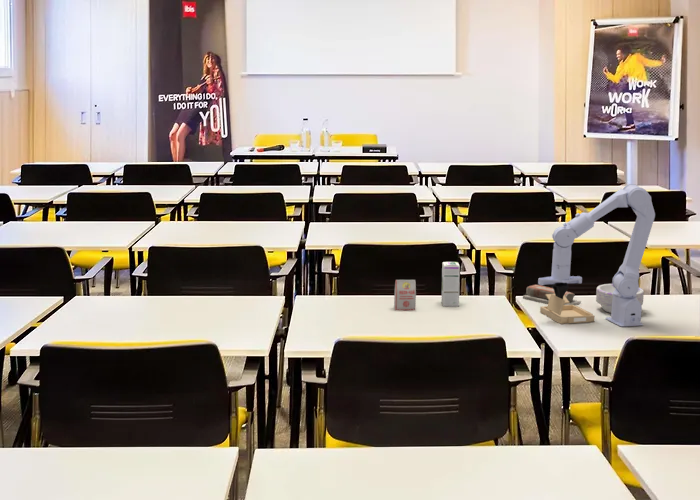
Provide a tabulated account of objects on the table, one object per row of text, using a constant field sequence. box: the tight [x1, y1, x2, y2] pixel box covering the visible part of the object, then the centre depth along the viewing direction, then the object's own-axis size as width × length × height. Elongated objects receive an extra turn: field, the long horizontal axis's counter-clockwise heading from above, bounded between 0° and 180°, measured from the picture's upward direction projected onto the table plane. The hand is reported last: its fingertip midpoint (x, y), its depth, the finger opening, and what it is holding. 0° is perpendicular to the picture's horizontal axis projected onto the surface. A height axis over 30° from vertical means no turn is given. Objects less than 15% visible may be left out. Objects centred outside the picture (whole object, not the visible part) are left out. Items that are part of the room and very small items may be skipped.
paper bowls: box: [595, 283, 645, 314], centre depth 285 cm, size 15×15×8 cm
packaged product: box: [522, 284, 582, 306], centre depth 298 cm, size 18×5×10 cm
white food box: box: [393, 279, 417, 311], centre depth 285 cm, size 4×7×10 cm, turn 93°
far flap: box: [546, 294, 569, 304], centre depth 287 cm, size 1×6×5 cm
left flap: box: [546, 294, 565, 315], centre depth 274 cm, size 8×1×5 cm, turn 15°
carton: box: [539, 305, 596, 325], centre depth 278 cm, size 15×12×2 cm
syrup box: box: [441, 261, 461, 307], centre depth 291 cm, size 6×6×14 cm
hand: (558, 305), depth 274 cm, fingers closed, pressing on left flap
